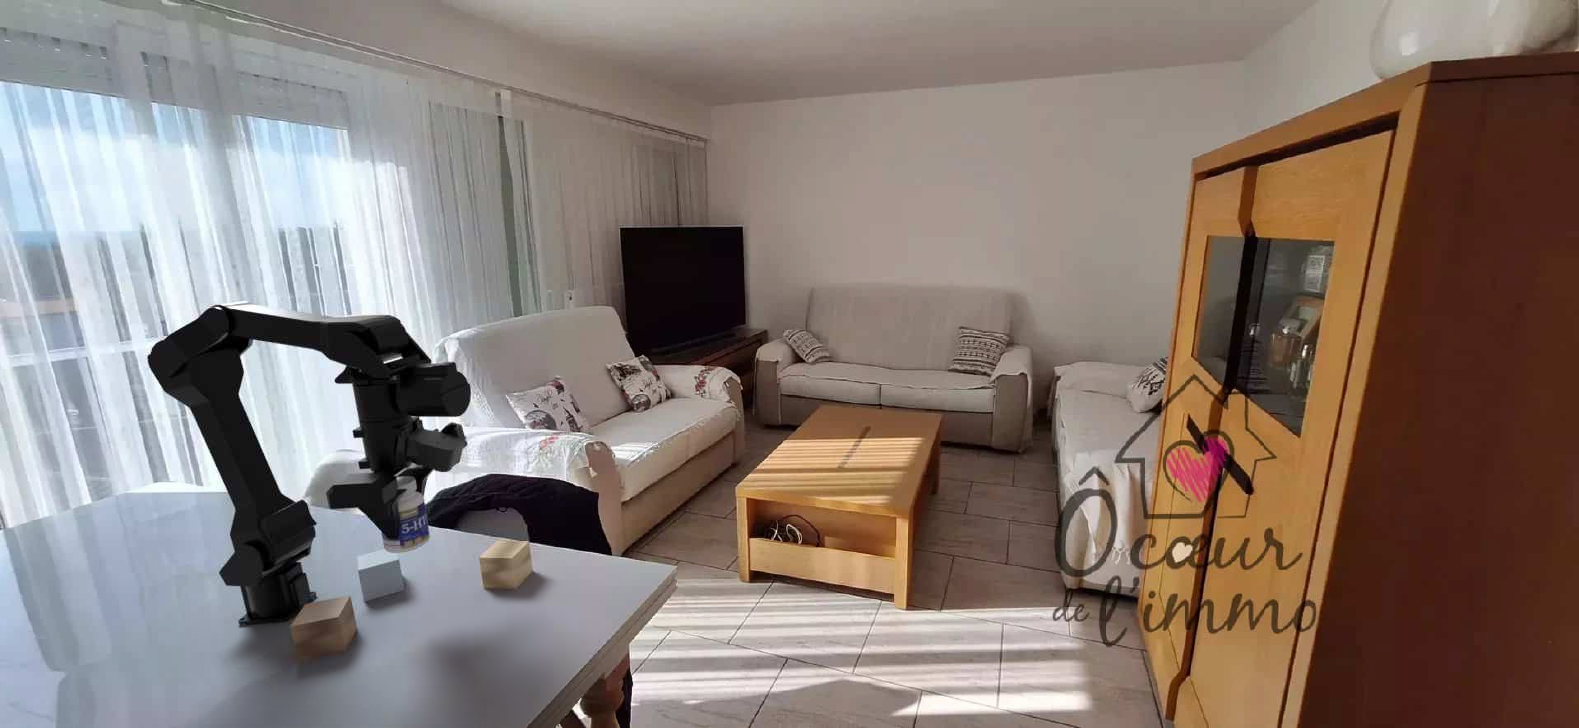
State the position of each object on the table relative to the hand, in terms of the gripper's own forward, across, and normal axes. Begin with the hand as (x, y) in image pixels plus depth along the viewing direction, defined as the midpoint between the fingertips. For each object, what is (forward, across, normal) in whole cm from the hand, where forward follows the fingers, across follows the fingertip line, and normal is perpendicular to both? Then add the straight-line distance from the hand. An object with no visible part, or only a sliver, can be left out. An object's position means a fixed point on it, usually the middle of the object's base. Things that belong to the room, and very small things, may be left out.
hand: (405, 528), depth 84 cm
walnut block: (+13, -5, +9) cm, 17 cm away
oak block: (+13, +8, -9) cm, 18 cm away
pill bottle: (+2, 0, 0) cm, 2 cm away
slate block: (+13, +8, +9) cm, 18 cm away
